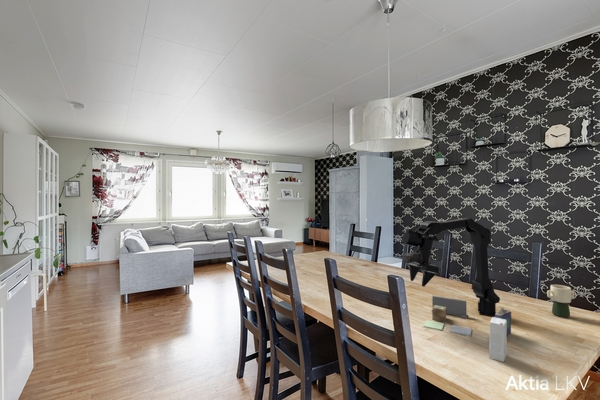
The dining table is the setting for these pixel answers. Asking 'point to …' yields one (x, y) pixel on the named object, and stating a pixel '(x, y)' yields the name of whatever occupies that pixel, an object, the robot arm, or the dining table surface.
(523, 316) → the dining table surface
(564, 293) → the character mug
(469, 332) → the slate pad
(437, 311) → the letter cube
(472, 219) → the robot arm
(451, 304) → the screen
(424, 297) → the dining table surface
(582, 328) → the dining table surface
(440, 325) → the green pad
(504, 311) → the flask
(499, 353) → the skincare box
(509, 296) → the dining table surface
